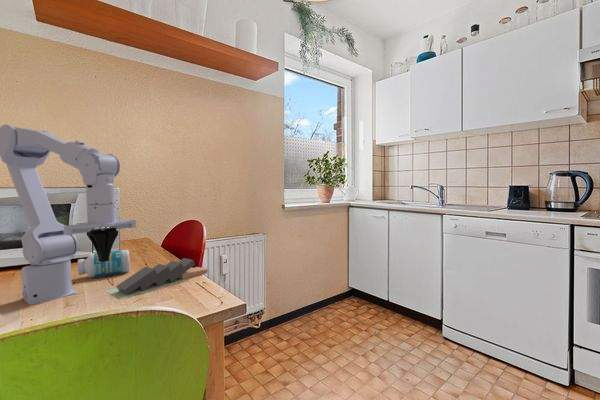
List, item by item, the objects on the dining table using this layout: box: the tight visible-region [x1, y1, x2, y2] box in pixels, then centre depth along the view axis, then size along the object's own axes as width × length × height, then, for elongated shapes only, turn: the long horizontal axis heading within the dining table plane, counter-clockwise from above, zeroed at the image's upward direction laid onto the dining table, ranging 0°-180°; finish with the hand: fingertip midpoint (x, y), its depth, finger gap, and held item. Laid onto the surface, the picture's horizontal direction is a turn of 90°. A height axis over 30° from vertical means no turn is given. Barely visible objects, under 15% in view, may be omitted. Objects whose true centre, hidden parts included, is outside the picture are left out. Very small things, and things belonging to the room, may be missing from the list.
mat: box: [104, 278, 188, 300], centre depth 83 cm, size 18×10×1 cm, turn 143°
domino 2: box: [137, 263, 170, 291], centre depth 82 cm, size 2×5×8 cm
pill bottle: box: [77, 249, 131, 278], centre depth 94 cm, size 8×7×14 cm
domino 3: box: [152, 260, 183, 286], centre depth 86 cm, size 2×5×8 cm
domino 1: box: [115, 266, 157, 295], centre depth 79 cm, size 2×5×8 cm
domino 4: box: [166, 257, 196, 282], centre depth 89 cm, size 2×5×8 cm
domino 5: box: [178, 266, 208, 280], centre depth 92 cm, size 2×5×8 cm
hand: (103, 260), depth 71 cm, fingers closed
